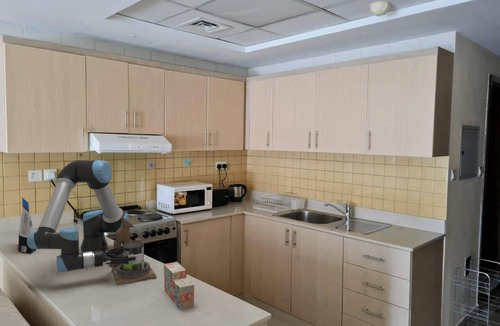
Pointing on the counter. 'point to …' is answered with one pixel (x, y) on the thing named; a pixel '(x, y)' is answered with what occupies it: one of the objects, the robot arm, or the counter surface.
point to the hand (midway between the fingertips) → (139, 252)
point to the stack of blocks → (178, 285)
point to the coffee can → (133, 249)
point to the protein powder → (25, 229)
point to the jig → (133, 274)
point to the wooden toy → (123, 237)
